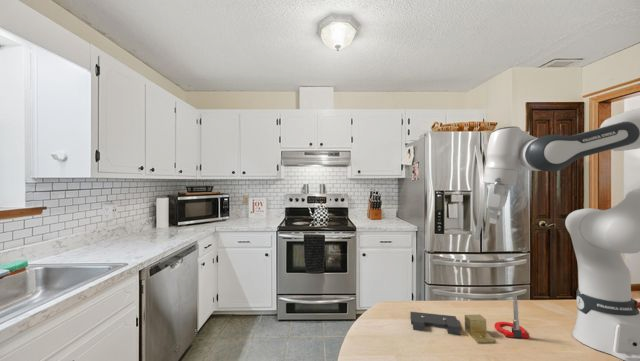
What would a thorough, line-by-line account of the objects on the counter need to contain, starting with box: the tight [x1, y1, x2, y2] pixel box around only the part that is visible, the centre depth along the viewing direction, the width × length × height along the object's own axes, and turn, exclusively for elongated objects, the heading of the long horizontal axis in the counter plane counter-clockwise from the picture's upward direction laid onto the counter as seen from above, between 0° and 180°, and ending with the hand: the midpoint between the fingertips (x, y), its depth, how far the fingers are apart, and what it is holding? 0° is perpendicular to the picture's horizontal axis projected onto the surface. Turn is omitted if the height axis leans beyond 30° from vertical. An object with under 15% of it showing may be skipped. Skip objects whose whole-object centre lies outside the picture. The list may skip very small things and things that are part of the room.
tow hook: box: [494, 294, 531, 339], centre depth 93 cm, size 8×13×9 cm
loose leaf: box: [464, 314, 495, 344], centre depth 89 cm, size 5×8×5 cm, turn 179°
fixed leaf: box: [410, 311, 461, 336], centre depth 97 cm, size 15×10×3 cm
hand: (494, 221), depth 92 cm, fingers open, 8 cm apart
